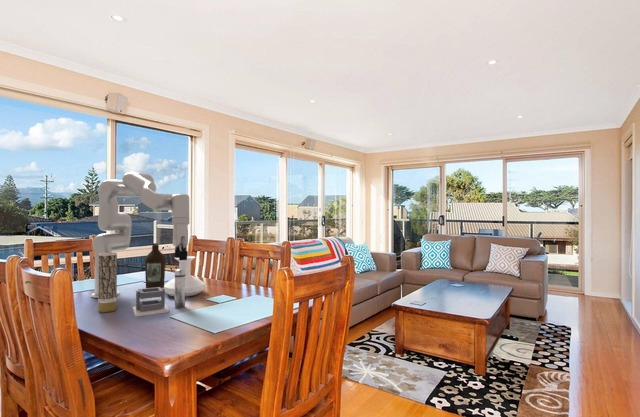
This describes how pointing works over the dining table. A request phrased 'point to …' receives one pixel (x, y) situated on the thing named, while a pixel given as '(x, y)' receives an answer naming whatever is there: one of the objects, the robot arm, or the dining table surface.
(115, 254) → the bark-patterned cylinder
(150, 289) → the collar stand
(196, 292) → the white vase
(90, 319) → the dining table surface
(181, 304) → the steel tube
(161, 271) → the olive oil
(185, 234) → the robot arm
